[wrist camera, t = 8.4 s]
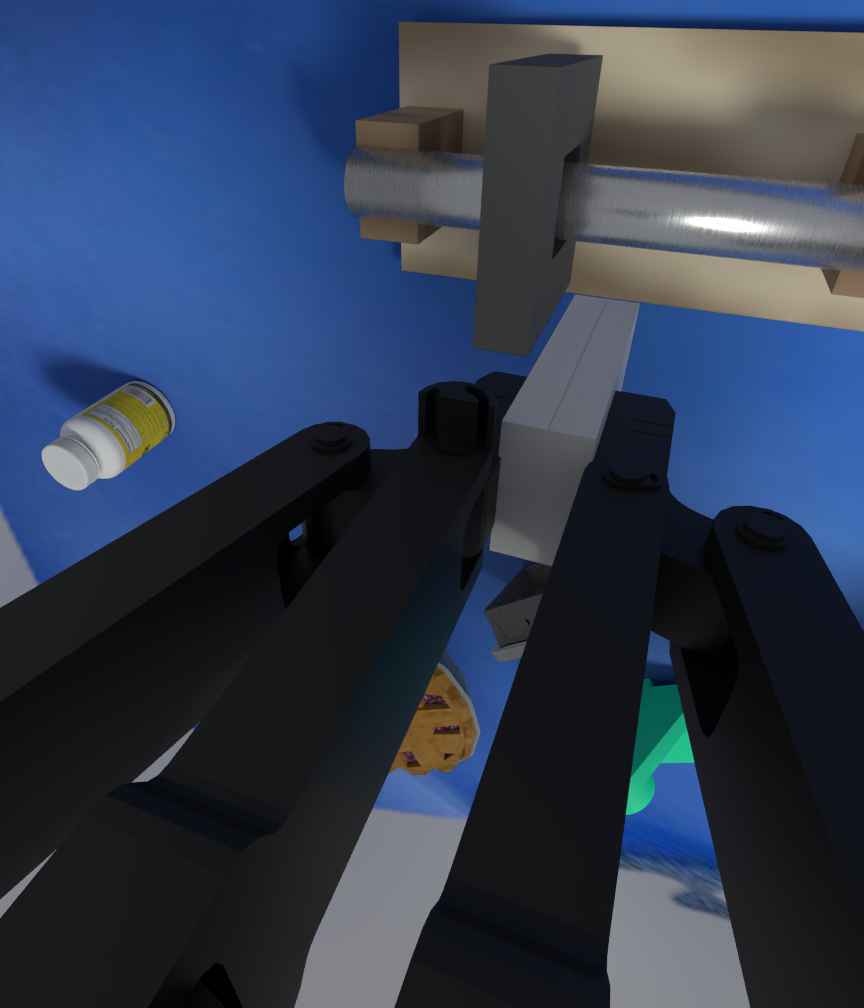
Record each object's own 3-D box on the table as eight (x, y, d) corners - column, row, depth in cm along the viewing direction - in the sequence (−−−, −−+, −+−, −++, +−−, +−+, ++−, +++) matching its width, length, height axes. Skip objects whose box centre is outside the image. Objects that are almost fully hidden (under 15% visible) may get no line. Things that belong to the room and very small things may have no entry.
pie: (437, 588, 56) (417, 629, 52) (517, 750, 66) (505, 794, 62) (255, 603, 67) (227, 637, 63) (347, 740, 76) (328, 777, 73)
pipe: (915, 270, 26) (936, 296, 24) (373, 211, 32) (345, 227, 30) (956, 180, 24) (984, 199, 22) (371, 137, 30) (339, 147, 28)
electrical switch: (540, 603, 53) (506, 682, 45) (507, 553, 52) (467, 627, 44) (647, 571, 47) (627, 656, 40) (613, 515, 46) (587, 592, 39)
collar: (569, 283, 34) (527, 356, 27) (525, 277, 35) (472, 347, 27) (603, 55, 28) (560, 67, 21) (549, 53, 29) (489, 64, 21)
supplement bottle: (143, 438, 58) (59, 499, 50) (112, 383, 55) (18, 438, 48) (188, 433, 55) (106, 496, 48) (158, 375, 53) (66, 433, 45)
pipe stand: (859, 321, 33) (889, 386, 27) (410, 263, 40) (355, 306, 34) (982, 35, 26) (1060, 39, 20) (409, 21, 33) (339, 21, 27)
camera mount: (591, 740, 61) (573, 845, 53) (558, 685, 58) (533, 787, 50) (725, 734, 54) (726, 853, 47) (695, 672, 51) (691, 787, 44)
